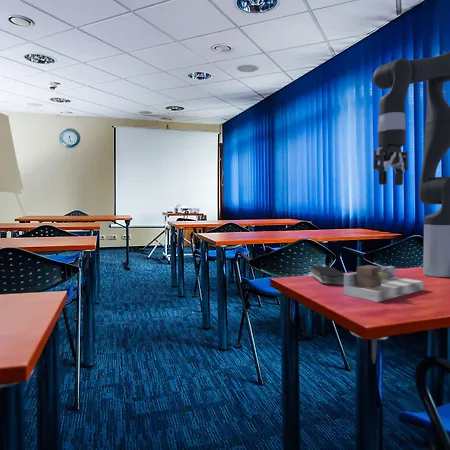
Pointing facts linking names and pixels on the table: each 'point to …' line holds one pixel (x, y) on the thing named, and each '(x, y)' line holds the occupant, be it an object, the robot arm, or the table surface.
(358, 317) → the table surface
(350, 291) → the grey flat tray
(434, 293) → the table surface
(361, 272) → the brown block with peg
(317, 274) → the black sponge
